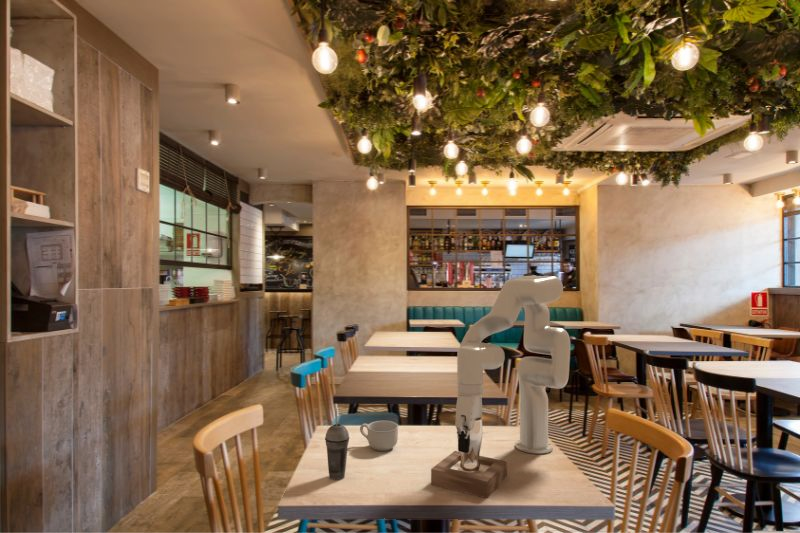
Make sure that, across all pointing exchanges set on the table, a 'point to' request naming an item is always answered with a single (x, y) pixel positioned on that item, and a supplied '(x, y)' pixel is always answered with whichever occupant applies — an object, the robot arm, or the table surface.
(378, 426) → the teacup
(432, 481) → the frame
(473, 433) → the beer glass
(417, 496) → the table surface
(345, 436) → the beverage cup
